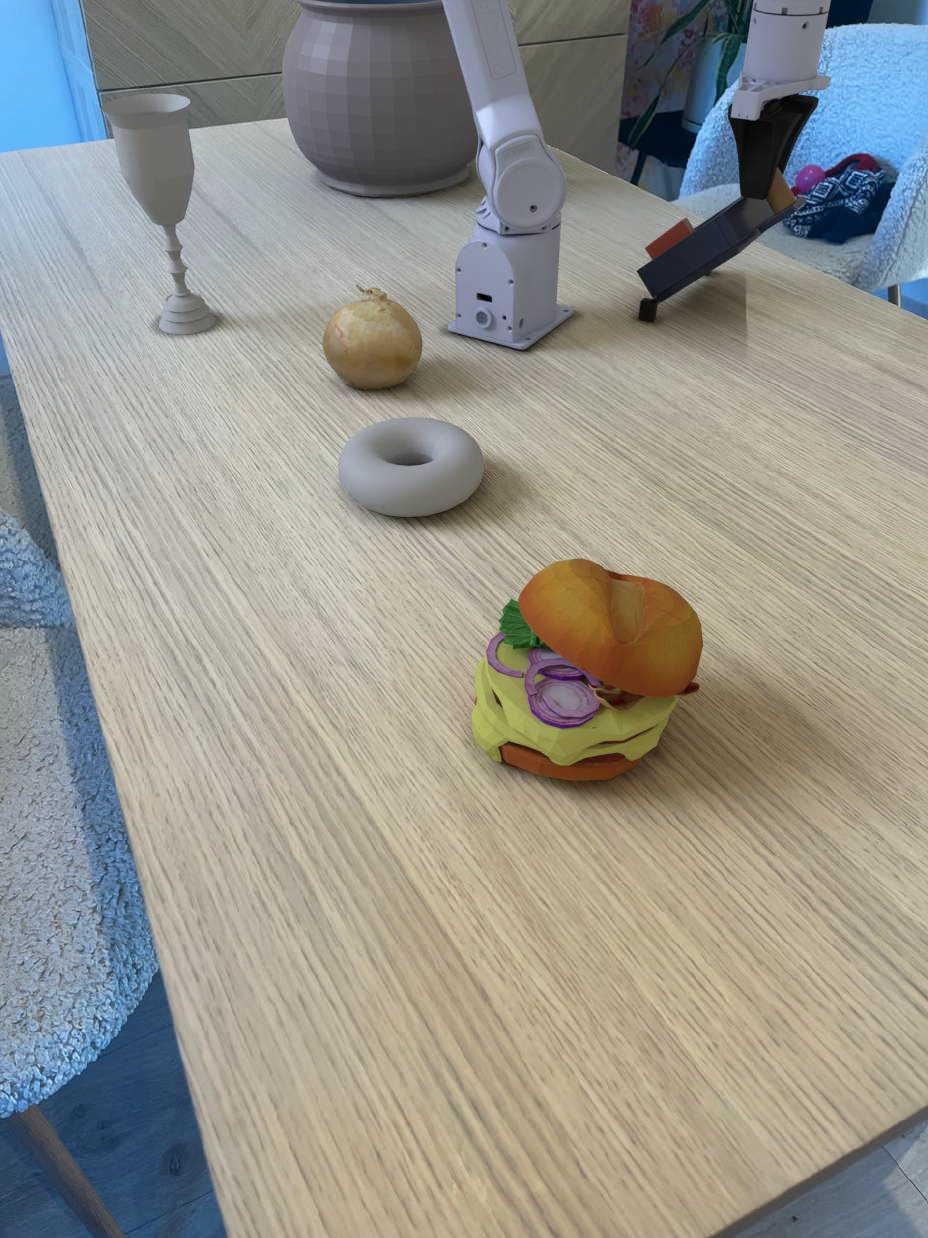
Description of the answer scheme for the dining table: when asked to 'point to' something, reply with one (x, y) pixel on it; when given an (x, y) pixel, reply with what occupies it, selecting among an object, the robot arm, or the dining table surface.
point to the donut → (410, 491)
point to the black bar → (649, 308)
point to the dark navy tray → (718, 240)
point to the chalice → (161, 186)
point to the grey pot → (378, 96)
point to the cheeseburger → (585, 672)
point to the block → (670, 238)
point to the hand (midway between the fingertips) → (758, 193)
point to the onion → (372, 342)
